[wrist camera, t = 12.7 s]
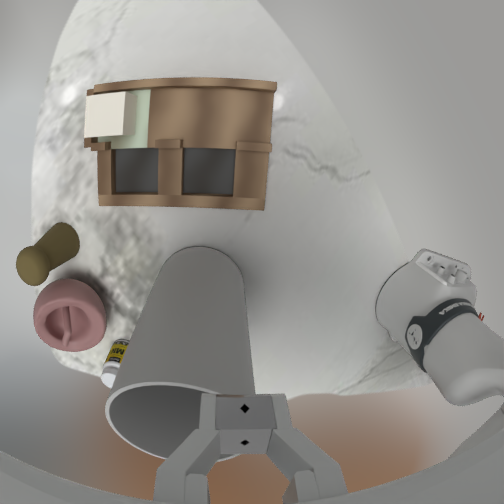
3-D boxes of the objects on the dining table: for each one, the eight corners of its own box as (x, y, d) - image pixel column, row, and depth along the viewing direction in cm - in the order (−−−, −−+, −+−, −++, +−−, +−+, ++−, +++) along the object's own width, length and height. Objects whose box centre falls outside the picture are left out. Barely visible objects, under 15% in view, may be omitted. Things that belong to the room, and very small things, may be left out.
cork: (82, 259, 40) (48, 295, 30) (52, 258, 39) (16, 290, 29) (77, 222, 37) (37, 250, 27) (46, 222, 37) (5, 248, 27)
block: (137, 96, 30) (125, 91, 26) (135, 134, 32) (122, 134, 28) (101, 99, 30) (86, 96, 25) (99, 136, 32) (84, 137, 27)
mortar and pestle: (106, 338, 45) (85, 383, 35) (51, 307, 42) (21, 345, 32) (124, 287, 42) (99, 331, 31) (62, 252, 39) (23, 287, 28)
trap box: (272, 87, 33) (277, 82, 29) (262, 206, 39) (265, 214, 35) (100, 89, 31) (87, 86, 27) (98, 202, 37) (86, 209, 33)
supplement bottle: (128, 336, 45) (115, 369, 38) (142, 355, 47) (132, 389, 39) (108, 341, 46) (93, 373, 38) (122, 360, 48) (110, 393, 40)
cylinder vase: (243, 244, 41) (262, 381, 18) (243, 318, 45) (257, 462, 22) (154, 245, 40) (83, 373, 17) (165, 319, 44) (129, 456, 21)
